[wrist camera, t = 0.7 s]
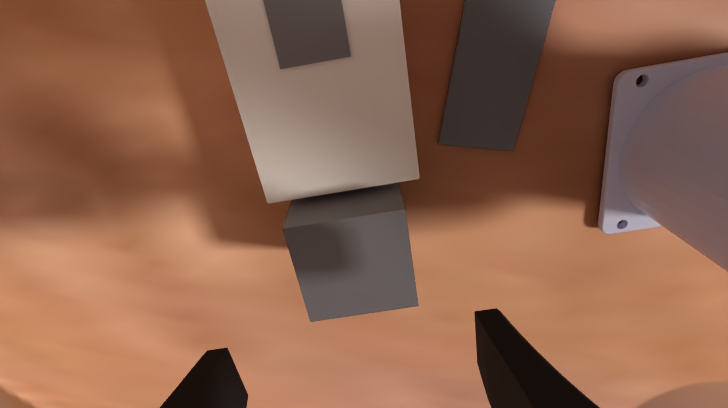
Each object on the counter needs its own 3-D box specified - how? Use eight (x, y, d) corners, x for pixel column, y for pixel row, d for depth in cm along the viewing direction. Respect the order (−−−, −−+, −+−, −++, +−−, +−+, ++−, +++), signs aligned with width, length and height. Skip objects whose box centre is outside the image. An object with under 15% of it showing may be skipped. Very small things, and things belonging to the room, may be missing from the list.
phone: (467, -32, 16) (472, -34, 15) (552, -21, 16) (561, -23, 15) (435, 139, 19) (438, 144, 18) (507, 145, 19) (513, 151, 18)
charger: (289, 134, 18) (267, 177, 13) (386, 117, 17) (397, 155, 13) (319, 253, 20) (310, 322, 16) (404, 240, 20) (418, 306, 16)
